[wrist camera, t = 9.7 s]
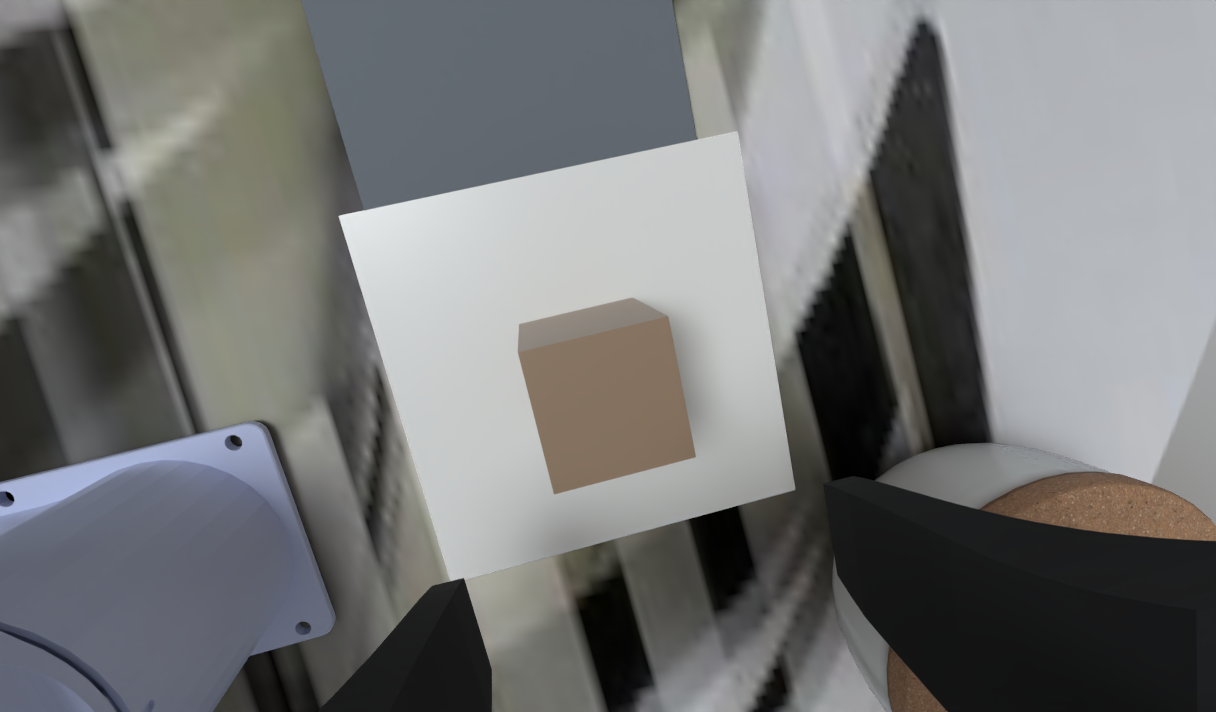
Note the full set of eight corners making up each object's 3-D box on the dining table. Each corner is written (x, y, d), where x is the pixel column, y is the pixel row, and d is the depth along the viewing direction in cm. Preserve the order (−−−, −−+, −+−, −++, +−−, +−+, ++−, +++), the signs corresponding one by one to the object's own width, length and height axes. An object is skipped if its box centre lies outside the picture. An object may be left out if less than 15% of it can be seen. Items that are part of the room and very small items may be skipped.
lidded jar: (806, 399, 23) (996, 505, 14) (1055, 412, 24) (1373, 515, 15) (768, 654, 25) (913, 897, 16) (1002, 650, 26) (1257, 868, 17)
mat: (373, 233, 20) (370, 232, 19) (257, -153, 17) (253, -160, 17) (697, 161, 21) (700, 160, 20) (630, -213, 18) (632, -220, 18)
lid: (454, 568, 17) (428, 689, 13) (348, 217, 15) (270, 207, 11) (783, 479, 18) (873, 561, 14) (727, 136, 16) (810, 94, 11)
